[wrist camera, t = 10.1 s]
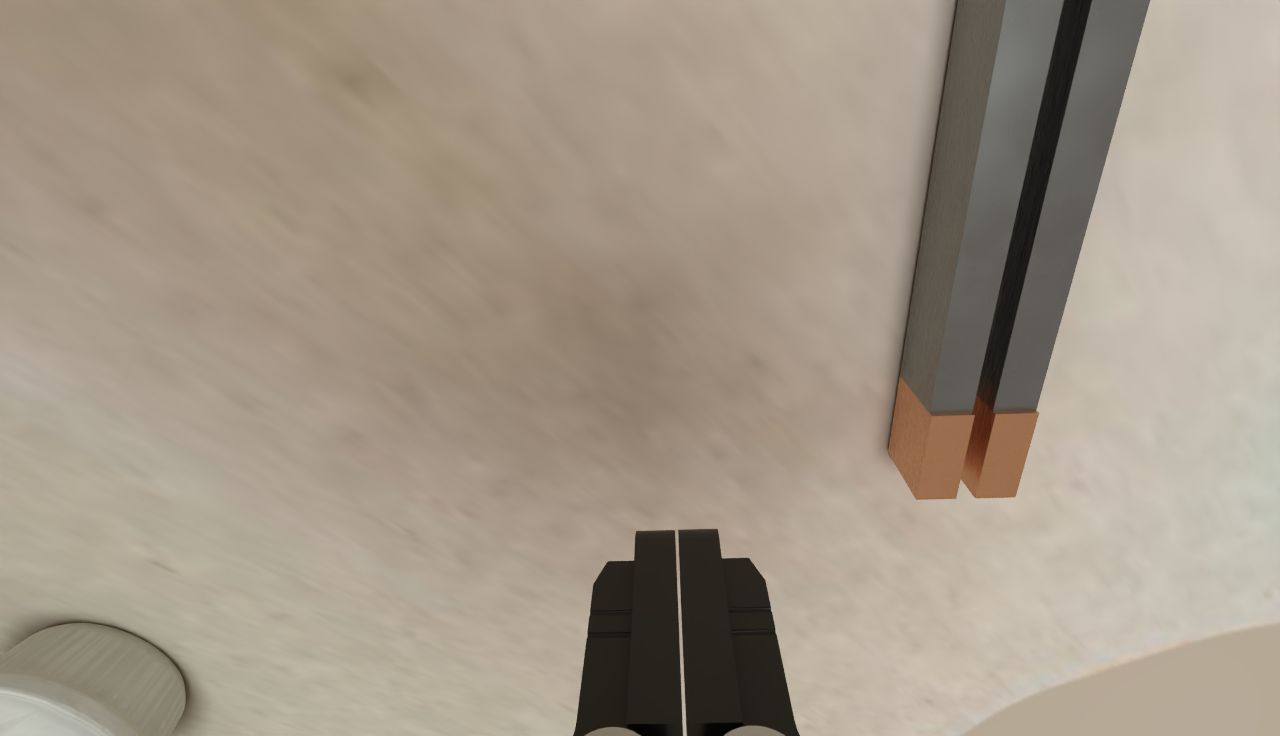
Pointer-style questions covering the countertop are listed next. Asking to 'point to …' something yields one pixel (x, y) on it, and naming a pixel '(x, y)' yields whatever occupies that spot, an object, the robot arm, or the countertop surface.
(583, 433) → the countertop surface
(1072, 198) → the base
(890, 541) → the countertop surface
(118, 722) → the ramekin
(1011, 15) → the tongs arm
